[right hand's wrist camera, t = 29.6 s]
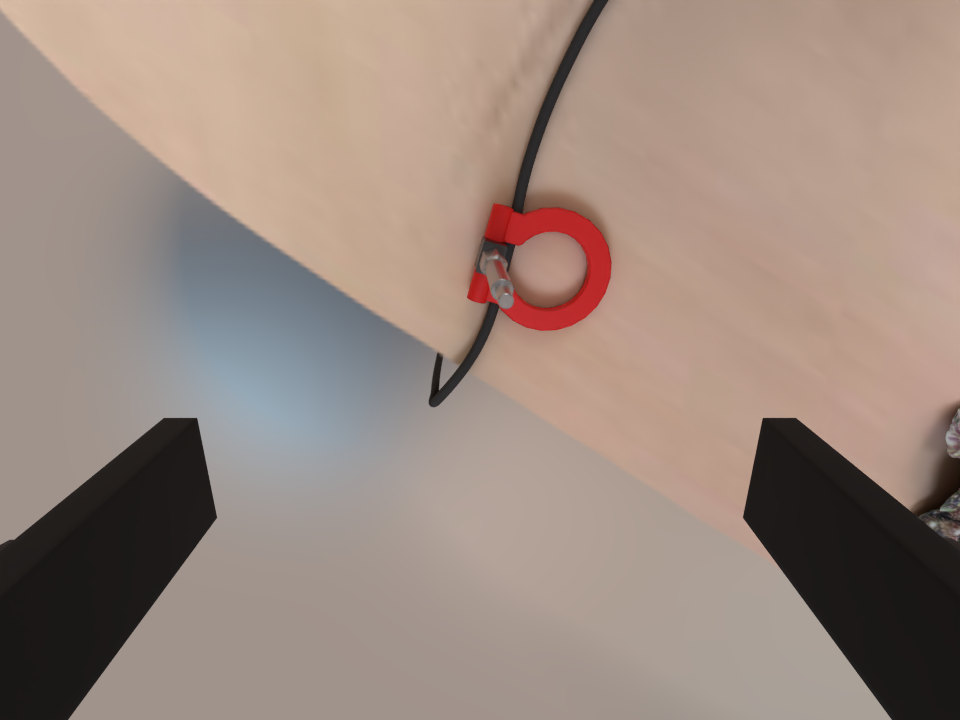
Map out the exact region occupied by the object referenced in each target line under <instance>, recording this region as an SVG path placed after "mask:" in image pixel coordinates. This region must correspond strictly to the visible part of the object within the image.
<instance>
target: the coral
mask: <svg viewBox="0 0 960 720" xmlns="http://www.w3.org/2000/svg"><path fill="white" fill-rule="evenodd" d="M946 442H947V444H948V445H947V447H948V449H947V452H948V454H949V455H950V456H951V457H953V458H960V408H959V409H958V411H957V413H956V415H955V416H954V417H953V421H952V424H951V425H950V429H949V430H948V432H947V434H946ZM940 508H941V509H937V510H933V511H930V512H927V513H925V514H922V515H920V516H918V518H919V519H921V520H922V521H923V522H924V523H926V524H927V525H928V526H929V527H930V528H932V529H933V530H934V531H935V532H937V533H938V534H939V535H940V536H942V537H943V538H952V539H954V540H956V541H958V542H959V543H960V488H959V490H958V491H957V492H956V493H955V494H953V495H952V496H951V497H949V498H948V499H947V500H946V502H945V503H944V504H943V505H942V506H941V507H940Z"/></svg>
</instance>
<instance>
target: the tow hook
mask: <svg viewBox="0 0 960 720" xmlns="http://www.w3.org/2000/svg"><path fill="white" fill-rule="evenodd" d="M513 210H514V209H512V208H510V207H507V206H504V205H501V204H496V203H494V204H493V208H492V211H491V215H490V218H489V222H488V225H487V229H486V232H485V236H483V238H482V241H481V245H480V248H479V252H478V255H477V259H476V262H475V271H474V274H473V278H472V281H471V285H470V288H469V292H468V295H467V298H468V299H470V300H472V301H474V302H477V303H486V301H489V302H493V303H496V304H498V305H499V307H500V308H501V310H502V311H503V312H504V313H505V314H506V315H507V316H508V317H510V318H511V319H512V320H513V321H515V322H517V323H519V324H521V325H523V326H525V327H527V328H531V329H536V330H541V331H545V330H558V329H562V328H565V327H569V326H572V325H573V324H575V323H577V322H579V321H580V320H582V319H584V318H585V317H586V316H587V315H589V314H590V313H591V312H592V311H593V310H594V309H595V308H596V307H597V305H598V304H599V302H600V301H601V299H602V297H603V296H604V294H605V293H606V289H607V286H608V283H609V280H610V275H611V258H610V253H609V248H608V245H607V243H606V241H605V239H604V237H603V235H602V233H601V232H600V231H599V230H598V229H597V228H596V227H595V225H594V224H593V223H592V222H591V221H590V220H588V219H586V218H585V217H583V216H581V215H579V214H578V213H576V212H574V211H570V210H566V209H562V208H558V207H556V208H540V209H537V210H533V211H530V212H527V213H525V214H521V213H517V212H514V211H513ZM555 231H556V232H560V233H565V234H567V235H569V236H571V237H573V238H574V239H575V240H576V241H577V242H578V243H579V244H580V245H581V247H582V248H583V250H584V252H585V254H586V259H587V263H588V266H587V276H586V279H585V282H584V285H583V286H582V288H581V289H580V291H579V293H578V294H577V295H576V296H575V297H574V298H573V299H571V300H570V301H568V302H566V303H565V304H563V305H560V306H557V307H554V308H540V307H536V306H532V305H531V304H529V303H527V302H525V301H524V300H523V299H522V298H520V297H519V296H518V295H517V293H516V291H515V290H514V287H513V285H512V282H511V279H510V278H509V275H508V273H507V271H506V269H507V266H508V263H507V261H506V259H505V256H506V253H507V249H508V248H507V246H506V244H505V242H507V243H511V244H514V245H518V246H519V245H522V244H523V243H524V242H525V241H526V240H528V239H530V238H531V237H533V236H534V235H537V234H540V233H543V232H555Z"/></svg>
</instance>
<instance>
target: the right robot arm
mask: <svg viewBox="0 0 960 720" xmlns="http://www.w3.org/2000/svg"><path fill="white" fill-rule="evenodd" d="M607 2H608V0H594V2H593V3H592V5H591V7H590V8H589V10H588V12H587V13H586V15H585V17H584V19H583V20H582V22H581V24H580V26H579V28H578V30H577V32H576V34H575V36H574V38H573V40H572V41H571V44H570V46H569V48H568V50H567V52H566V54H565V56H564V58H563V60H562V62H561V64H560V66H559V68H558V71H557V73H556V75H555V77H554V79H553V82H552V84H551V86H550V88H549V91H548V93H547V95H546V98H545V100H544V103H543V105H542V108H541V110H540V113H539V115H538V118H537V121H536V123H535V126H534V129H533V132H532V135H531V138H530V141H529V144H528V147H527V150H526V153H525V156H524V159H523V163H522V167H521V170H520V174H519V178H518V182H517V187H516V191H515V196H514V201H513V206H512V209H514V210H513V211H514V212H517V213H521V214H522V211H523V206H524V201H525V196H526V191H527V187H528V183H529V179H530V175H531V171H532V168H533V164H534V161H535V158H536V155H537V152H538V149H539V146H540V143H541V140H542V137H543V134H544V131H545V129H546V126H547V123H548V121H549V118H550V115H551V113H552V110H553V108H554V105H555V103H556V101H557V98H558V96H559V94H560V92H561V89H562V87H563V85H564V83H565V81H566V78H567V76H568V74H569V72H570V70H571V68H572V66H573V64H574V62H575V60H576V58H577V56H578V54H579V52H580V50H581V48H582V46H583V44H584V42H585V40H586V38H587V36H588V34H589V32H590V30H591V29H592V27H593V25H594V23H595V22H596V20H597V18H598V16H599V15H600V13H601V11H602V10H603V8H604V6H605V5H606V3H607ZM505 244H506V246H507V248H508V249H507V253H506V256H505V259H506V261H507V263H508V266H507V269H506V271H507V273H508V270H509V266H510V262H511V259H512V255H513V251H514V248H515V245H514V244H511V243H507V242H505ZM498 309H499V305H498V304H496V303H493V302H490V304H489V307H488V310H487V314H486V316H485V319H484V322H483V325H482V327H481V329H480V332H479V334H478V336H477V338H476V340H475V342H474V344H473V346H472V348H471V349H470V351H469V353H468V354H467V356H466V358H465V359H464V361H463V362H462V363H461V365H460V366H459V368H458V369H457V370H456V372H455V373H454V374H453V375H452V377H451V378H450V379H449V380H448V381H447V383H446V384H445V385H444V386H443V387H442V388H441V389H440V390H439V383H440V373H441V367H442V361H443V356H444V355H443V354H441V353H439V352H437V356H436V360H435V365H434V371H433V376H432V384H431V393H430V397H429V405H430V406H431V407H436V406H438V405H439V404H440V403H441V402H442V401H443V400H444V399H445V398H446V397H447V396H448V395H449V394H450V393H451V392H452V391H453V389H454V388H455V387H456V386H457V385H458V384H459V382H460V381H461V380H462V379H463V377H464V376H465V375H466V373H467V372H468V371H469V369H470V368H471V366H472V365H473V363H474V362H475V360H476V359H477V357H478V355H479V354H480V352H481V350H482V348H483V346H484V344H485V342H486V340H487V338H488V336H489V334H490V331H491V329H492V326H493V324H494V321H495V318H496V315H497V312H498ZM216 518H217V516H216V510H215V505H214V500H213V495H212V490H211V485H210V480H209V475H208V470H207V465H206V460H205V455H204V450H203V445H202V440H201V435H200V430H199V425H198V420H197V418H164V419H162V420H161V421H160V422H159V423H157V424H156V425H155V426H154V427H152V428H151V429H150V430H149V431H148V432H146V433H145V434H144V435H143V436H141V437H140V438H139V439H138V440H137V441H135V442H134V443H133V444H132V445H130V446H129V447H128V448H127V449H125V450H124V451H123V452H122V453H121V454H119V455H118V456H117V457H116V458H114V459H113V460H112V461H111V462H109V463H108V464H107V465H106V466H105V467H103V468H102V469H101V470H100V471H98V472H97V473H96V474H95V475H94V476H92V477H91V478H90V479H89V480H87V481H86V482H85V483H84V484H82V485H81V486H80V487H79V488H78V489H76V490H75V491H74V492H73V493H71V494H70V495H69V496H68V497H66V498H65V499H64V500H63V501H62V502H60V503H59V504H58V505H57V506H55V507H54V508H53V509H52V510H51V511H49V512H48V513H47V514H46V515H44V516H43V517H42V518H41V519H39V520H38V521H37V522H36V523H35V524H33V525H32V526H31V527H30V528H28V529H27V530H26V531H25V532H23V533H22V534H21V535H20V536H18V537H17V538H16V539H15V540H9V541H7V542H5V543H3V544H1V545H0V720H68V719H69V718H70V716H71V715H72V714H73V712H74V711H75V710H76V708H77V707H78V705H79V704H80V703H81V701H82V700H83V699H84V697H85V696H86V695H87V693H88V692H89V691H90V689H91V688H92V686H93V685H94V684H95V682H96V681H97V680H98V678H99V677H100V676H101V674H102V673H103V672H104V670H105V669H106V668H107V666H108V665H109V663H110V662H111V661H112V659H113V658H114V657H115V655H116V654H117V653H118V651H119V650H120V648H121V647H122V646H123V644H124V643H125V642H126V640H127V639H128V638H129V636H130V635H131V634H132V632H133V631H134V630H135V628H136V627H137V625H138V624H139V623H140V621H141V620H142V619H143V617H144V616H145V615H146V613H147V612H148V611H149V609H150V608H151V607H152V605H153V604H154V602H155V601H156V600H157V598H158V597H159V596H160V594H161V593H162V592H163V590H164V589H165V588H166V586H167V585H168V583H169V582H170V581H171V579H172V578H173V577H174V575H175V574H176V573H177V571H178V570H179V569H180V567H181V566H182V564H183V563H184V562H185V560H186V559H187V558H188V556H189V555H190V554H191V552H192V551H193V550H194V548H195V547H196V545H197V544H198V543H199V541H200V540H201V539H202V537H203V536H204V535H205V533H206V532H207V530H208V529H209V528H210V527H211V525H212V524H213V522H214V521H215V520H216ZM743 518H744V520H745V521H746V522H747V524H748V525H749V527H750V528H751V529H752V531H753V532H754V533H755V535H756V536H757V537H758V539H759V540H760V541H761V543H762V544H763V545H764V547H765V548H766V550H767V551H768V552H769V554H770V555H771V556H772V558H773V559H774V560H775V562H776V563H777V564H778V566H779V567H780V569H781V570H782V571H783V573H784V574H785V575H786V577H787V578H788V579H789V581H790V582H791V583H792V585H793V586H794V587H795V589H796V590H797V592H798V593H799V594H800V596H801V597H802V598H803V600H804V601H805V602H806V604H807V605H808V606H809V608H810V609H811V610H812V612H813V613H814V615H815V616H816V617H817V619H818V620H819V621H820V623H821V624H822V625H823V627H824V628H825V630H826V631H827V632H828V634H829V635H830V636H831V638H832V639H833V640H834V642H835V643H836V644H837V646H838V647H839V649H840V650H841V651H842V652H843V654H844V655H845V657H846V658H847V659H848V661H849V662H850V663H851V665H852V666H853V668H854V669H855V670H856V672H857V673H858V674H859V676H860V677H861V678H862V680H863V681H864V682H865V684H866V685H867V687H868V688H869V689H870V691H871V692H872V693H873V695H874V696H875V697H876V699H877V700H878V701H879V703H880V704H881V705H882V707H883V708H884V710H885V711H886V712H887V714H888V715H889V716H890V718H891V719H892V720H960V543H959V542H958V541H956V540H954V539H952V538H943V537H942V536H940V535H939V534H938V533H937V532H935V531H934V530H933V529H932V528H930V527H929V526H928V525H927V524H926V523H924V522H923V521H922V520H921V519H919V518H918V517H917V516H916V515H914V514H913V513H912V512H911V511H910V510H908V509H907V508H906V507H905V506H903V505H902V504H901V503H900V502H898V501H897V500H896V499H895V498H894V497H892V496H891V495H890V494H889V493H887V492H886V491H885V490H884V489H883V488H881V487H880V486H879V485H878V484H876V483H875V482H874V481H873V480H871V479H870V478H869V477H868V476H867V475H865V474H864V473H863V472H862V471H860V470H859V469H858V468H857V467H855V466H854V465H853V464H852V463H851V462H849V461H848V460H847V459H846V458H844V457H843V456H842V455H841V454H839V453H838V452H837V451H836V450H835V449H833V448H832V447H831V446H830V445H828V444H827V443H826V442H825V441H823V440H822V439H821V438H820V437H819V436H817V435H816V434H815V433H814V432H812V431H811V430H810V429H809V428H808V427H806V426H805V425H804V424H803V423H801V422H800V421H799V420H798V419H796V418H763V420H762V425H761V430H760V435H759V440H758V445H757V450H756V455H755V460H754V465H753V470H752V475H751V480H750V485H749V490H748V495H747V500H746V505H745V510H744V515H743Z"/></svg>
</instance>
